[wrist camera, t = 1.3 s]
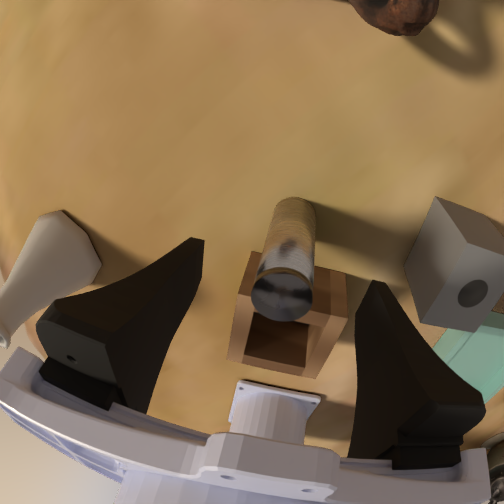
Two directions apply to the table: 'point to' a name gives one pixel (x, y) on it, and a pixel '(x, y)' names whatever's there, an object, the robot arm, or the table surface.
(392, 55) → the table surface
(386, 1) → the pottery mug
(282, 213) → the cylinder
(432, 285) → the gray block
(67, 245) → the flask
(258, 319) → the walnut block
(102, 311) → the robot arm
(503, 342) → the teal tray
